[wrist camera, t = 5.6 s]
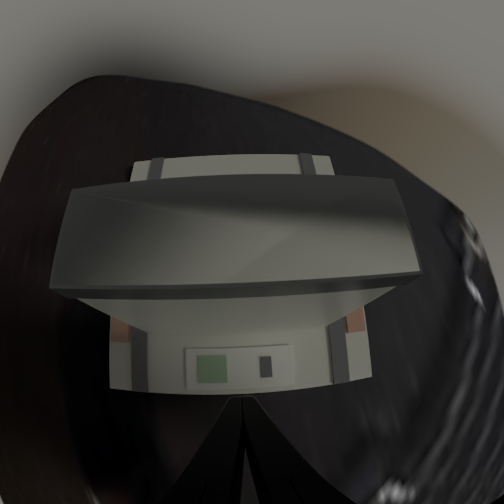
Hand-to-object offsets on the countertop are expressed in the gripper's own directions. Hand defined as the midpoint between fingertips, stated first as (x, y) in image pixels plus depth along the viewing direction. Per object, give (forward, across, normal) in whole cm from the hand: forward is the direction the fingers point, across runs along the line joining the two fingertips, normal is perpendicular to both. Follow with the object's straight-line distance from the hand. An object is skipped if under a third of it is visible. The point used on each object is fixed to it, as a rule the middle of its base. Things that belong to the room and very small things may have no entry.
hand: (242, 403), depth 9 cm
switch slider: (+8, 0, -1) cm, 8 cm away
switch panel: (+11, 0, +1) cm, 11 cm away
